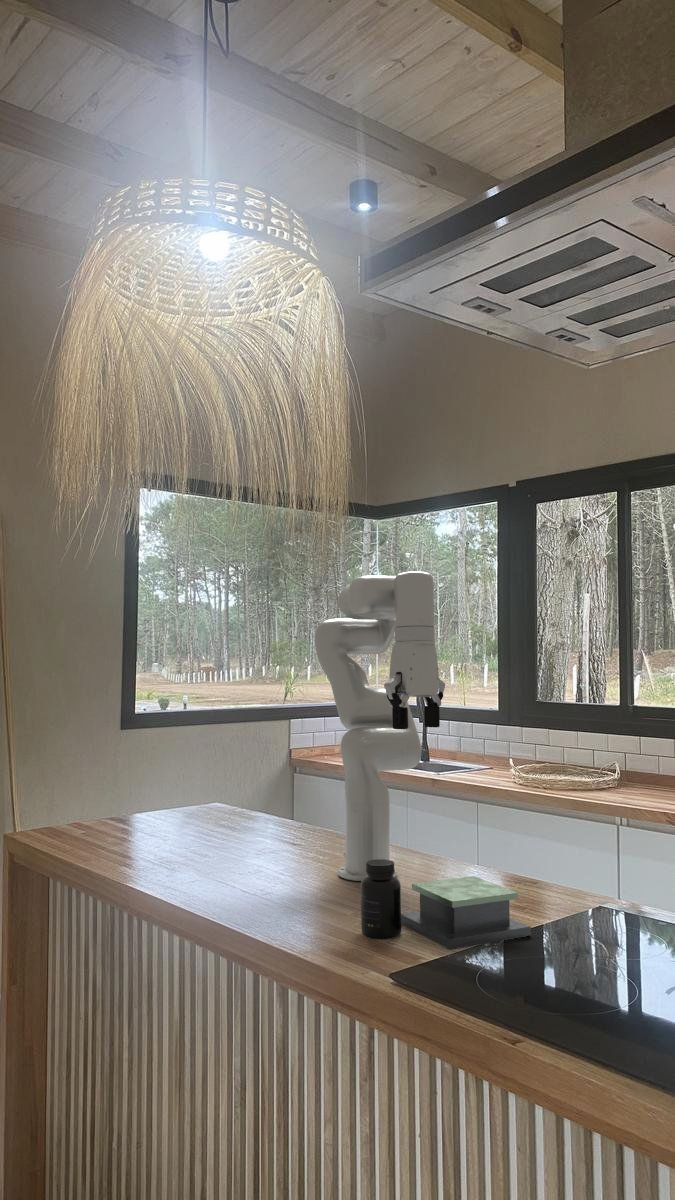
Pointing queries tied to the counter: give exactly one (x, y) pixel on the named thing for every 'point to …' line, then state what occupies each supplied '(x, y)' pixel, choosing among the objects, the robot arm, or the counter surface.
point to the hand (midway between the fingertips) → (416, 728)
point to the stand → (464, 912)
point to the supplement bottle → (380, 901)
